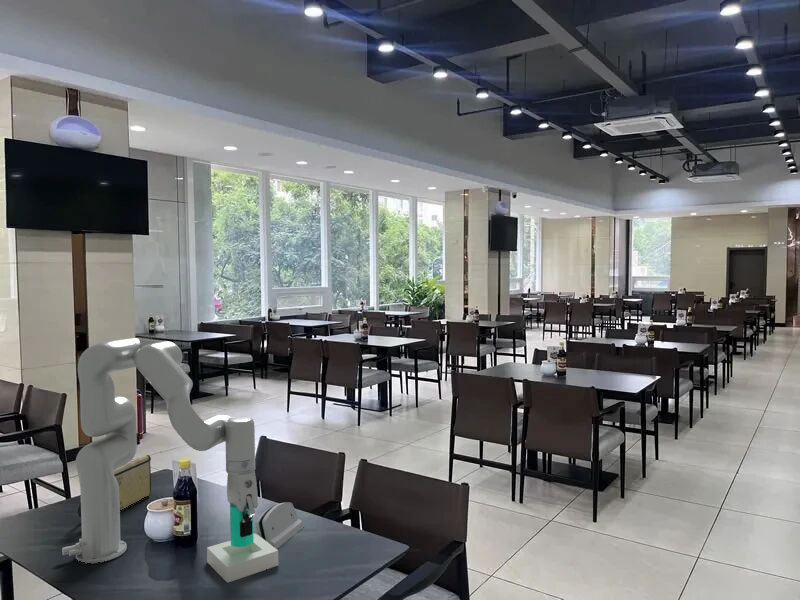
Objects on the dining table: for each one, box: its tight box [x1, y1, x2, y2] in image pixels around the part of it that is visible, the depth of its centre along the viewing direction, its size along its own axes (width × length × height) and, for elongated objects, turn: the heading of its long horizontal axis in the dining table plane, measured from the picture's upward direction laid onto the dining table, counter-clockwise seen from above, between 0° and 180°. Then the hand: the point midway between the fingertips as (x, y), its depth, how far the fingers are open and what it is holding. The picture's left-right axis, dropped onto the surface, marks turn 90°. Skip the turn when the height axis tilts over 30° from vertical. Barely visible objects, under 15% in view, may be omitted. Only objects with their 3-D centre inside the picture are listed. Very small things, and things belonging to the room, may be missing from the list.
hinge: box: [255, 502, 305, 550], centre depth 170 cm, size 17×5×10 cm, turn 160°
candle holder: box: [206, 532, 279, 584], centre depth 153 cm, size 14×14×4 cm
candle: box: [229, 503, 254, 547], centre depth 153 cm, size 6×6×12 cm
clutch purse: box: [77, 454, 152, 519], centre depth 191 cm, size 30×7×15 cm, turn 165°
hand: (241, 531), depth 153 cm, fingers closed on candle, 4 cm apart
